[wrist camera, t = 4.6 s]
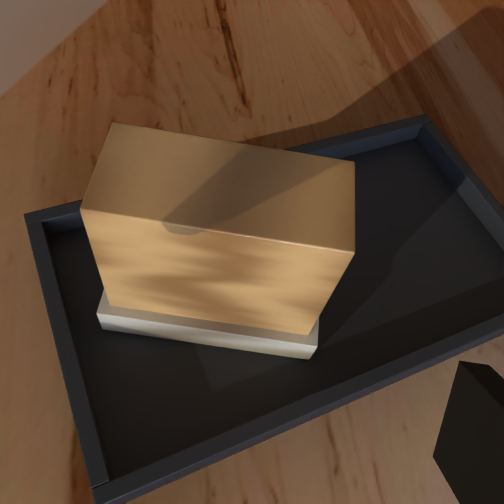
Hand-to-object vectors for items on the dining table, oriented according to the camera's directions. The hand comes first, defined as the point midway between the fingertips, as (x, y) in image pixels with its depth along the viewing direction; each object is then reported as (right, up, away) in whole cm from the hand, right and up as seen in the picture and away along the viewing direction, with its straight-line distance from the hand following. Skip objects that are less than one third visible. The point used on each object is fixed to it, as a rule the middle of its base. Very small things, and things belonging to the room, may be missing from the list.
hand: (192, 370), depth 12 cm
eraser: (-1, 0, +15) cm, 15 cm away
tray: (+4, +1, +17) cm, 18 cm away
